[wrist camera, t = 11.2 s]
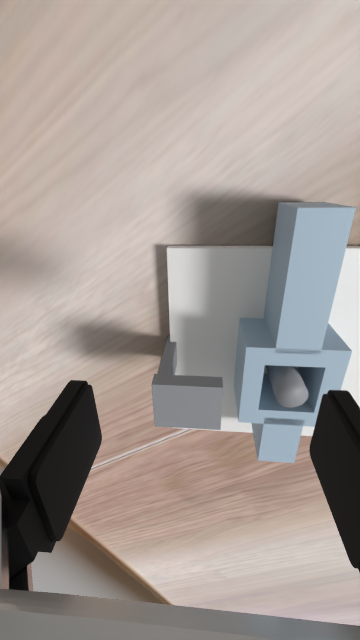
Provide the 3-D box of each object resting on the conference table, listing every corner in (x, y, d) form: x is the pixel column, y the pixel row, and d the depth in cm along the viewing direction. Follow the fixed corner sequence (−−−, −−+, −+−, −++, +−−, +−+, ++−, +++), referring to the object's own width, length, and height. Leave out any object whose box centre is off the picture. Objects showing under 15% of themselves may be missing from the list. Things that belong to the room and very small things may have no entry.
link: (301, 422, 30) (318, 464, 25) (230, 418, 30) (234, 458, 26) (354, 201, 20) (394, 207, 16) (249, 202, 21) (261, 207, 17)
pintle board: (163, 245, 24) (143, 274, 16) (421, 246, 22) (530, 278, 15) (170, 421, 33) (159, 492, 25) (356, 431, 31) (403, 511, 23)
